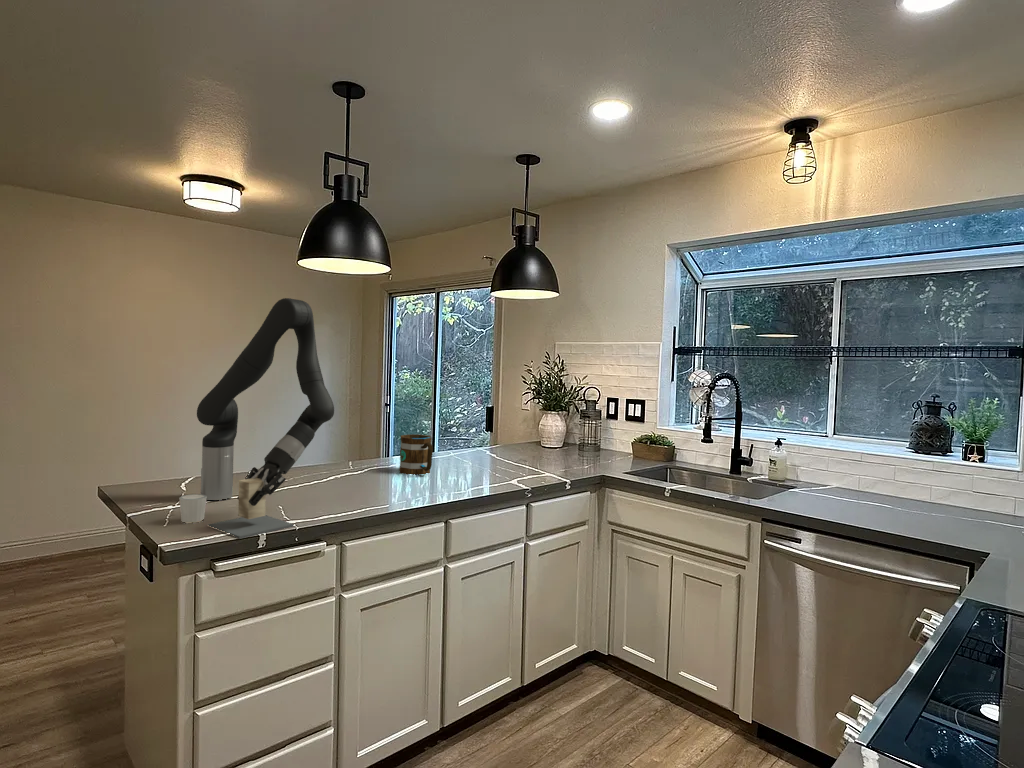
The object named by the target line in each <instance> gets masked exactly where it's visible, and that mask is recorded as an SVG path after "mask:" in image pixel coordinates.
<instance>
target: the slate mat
mask: <svg viewBox="0 0 1024 768" xmlns="http://www.w3.org/2000/svg"><path fill="white" fill-rule="evenodd" d="M207 525H209V526H211V527H214V528H217V529H219V530H222V531H225V532H227V533H230V534H232V535H234V536H235V537H234V536H233V537H234V538H236V537H237V538H236V539H239V540H240V539H245V538H248V537H249V538H250V537H253V536H257V535H262V534H266V533H270V532H275V531H278V530H283V529H286V528H292V527H294V523H291V522H287V521H285V520H282V519H280V518H276V517H273V516H269V515H266V514H265V516H262V517H257V518H252V519H246V518H243V517H237V518H233V519H232V518H231V519H227V520H223V521H218V522H211V523H207Z"/></svg>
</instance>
